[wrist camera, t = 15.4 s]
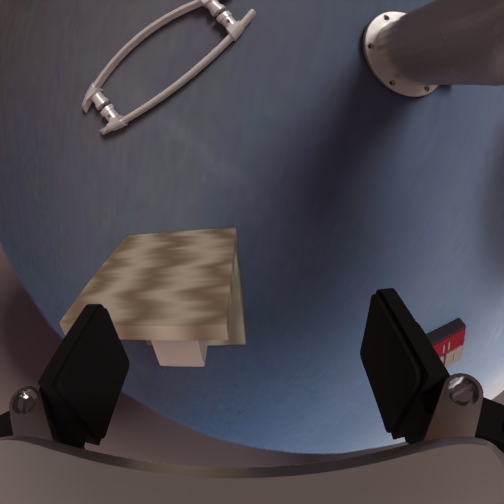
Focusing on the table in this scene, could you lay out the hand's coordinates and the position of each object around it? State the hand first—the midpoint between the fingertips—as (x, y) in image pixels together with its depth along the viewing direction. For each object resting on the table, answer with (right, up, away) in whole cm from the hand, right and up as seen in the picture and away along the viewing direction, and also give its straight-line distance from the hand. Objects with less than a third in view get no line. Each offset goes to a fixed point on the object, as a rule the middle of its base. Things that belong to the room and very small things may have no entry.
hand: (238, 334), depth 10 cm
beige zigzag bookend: (-9, -2, +35) cm, 36 cm away
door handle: (-11, +27, +21) cm, 36 cm away
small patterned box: (+38, -17, +44) cm, 60 cm away
